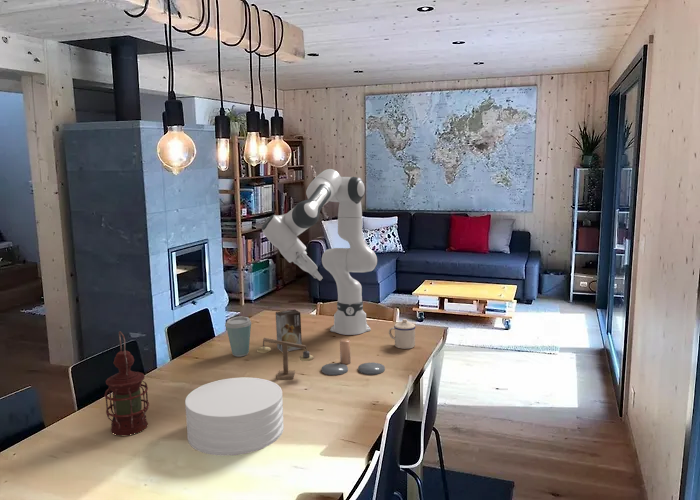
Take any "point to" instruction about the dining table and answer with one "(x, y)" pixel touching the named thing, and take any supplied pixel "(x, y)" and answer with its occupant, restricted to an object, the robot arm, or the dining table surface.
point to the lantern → (126, 396)
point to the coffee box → (288, 328)
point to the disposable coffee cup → (239, 335)
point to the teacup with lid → (404, 334)
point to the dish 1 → (334, 369)
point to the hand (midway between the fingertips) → (319, 278)
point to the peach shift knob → (345, 351)
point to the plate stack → (234, 416)
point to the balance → (286, 356)
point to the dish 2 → (371, 368)
